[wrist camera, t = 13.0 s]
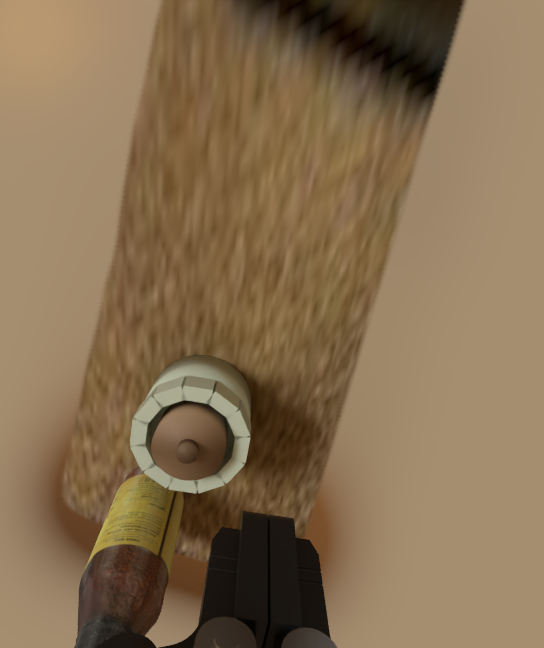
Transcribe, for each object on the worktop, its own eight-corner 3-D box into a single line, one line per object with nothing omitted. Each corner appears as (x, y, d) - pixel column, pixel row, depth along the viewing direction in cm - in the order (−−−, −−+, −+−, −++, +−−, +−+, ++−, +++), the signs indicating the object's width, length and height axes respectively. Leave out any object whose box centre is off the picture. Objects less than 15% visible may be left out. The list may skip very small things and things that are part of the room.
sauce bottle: (108, 481, 46) (-3, 691, 27) (162, 449, 45) (87, 644, 26) (149, 530, 48) (71, 762, 28) (202, 501, 47) (158, 719, 28)
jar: (157, 347, 42) (137, 378, 36) (259, 364, 43) (258, 397, 36) (146, 438, 45) (125, 483, 38) (242, 453, 45) (238, 499, 39)
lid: (164, 392, 38) (153, 414, 34) (233, 404, 38) (230, 427, 35) (155, 453, 40) (144, 480, 36) (222, 464, 40) (217, 492, 36)
